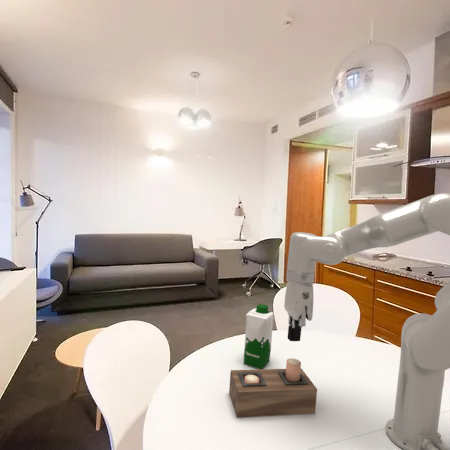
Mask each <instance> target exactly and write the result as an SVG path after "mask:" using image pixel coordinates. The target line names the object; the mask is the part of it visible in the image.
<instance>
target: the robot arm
mask: <svg viewBox="0 0 450 450" xmlns="http://www.w3.org/2000/svg"><path fill="white" fill-rule="evenodd" d="M436 232H440V233H443V234H446V235H448V236H450V193H449V192H441V193H435V194H432V195H428V196H426V197H423V198H421V199H418V200H415V201H412V202H410V203H407V204H405V205H402V206H399V207H397V208H393V209H391V210H388V211H385V212H382V213H380V214H378V215H375V216H372V217H370V218H369V219H367V220H365V221H362V222H360V223H358V224H354V225H352V226H349V227H347V228H343V229H341V230H339V231H335V232H333V233H330V234H328V235H326V236H318V235H316V234H314V233H310V232H303V231H301V232H300V231H297V232H293V233H291V235H290V238H289V239H290V240H289V246H288V247H289V248H288V257H287V267H286V279H285V280H286V282H287V283H286V287H285V288H286V289H285V293H284V294H285V295H284V310H285V311H286V312H287V314H288V329H287V339H288V341H289V342H300V341H301V336H302V329H303V327H306V325H307V323H306V321H310V322H311V321H312V320H313V315H314V313H313V312H314V282H315V275H316V274H315V273H316V263H320V264H322V265H323V264H324V265H329V266H334V265H338V264H340V263H341V262H342V261H344V259H345V258H346V257H348V256H351V255H354V254H358V253H361V252H363V251H367V250H371V249H377V248H389V247H394V246H398V245H400V244H404V243H406V242H409V241H412V240H415V239H419V238H422V237H424V236H428V235H431V234H434V233H436ZM434 297H435V298H434V306H435V309H436V311H435V312H434V313H433V314H432V315H431V314H428V313H423V312H422V313H416V314H412V315H411V316H409V317H408V318H407V319H406V320H405V321H404V322H403V325H402V327H401V328H402V329H401V337H400V356H399V358H400V359H399V368H398V377H397V385H396V394H395V395H396V396H395V403H394V411H393V412H394V414H393V418H391V419H389V420H388V421H387V422H386V424H385V431H386V434H387V437H388V438H389V439H390V440H391V441H392V442H393V443H394V444H395V445H396V446H398V447H399V448H401V449H402V450H448V449H447V448H446V447H445V446H444V445H445V444H444V442H443V440H442V437H441V436H442V434H440V433H439V432H438V431H439V425H440V424H439V423H440V414H441V406H442V398H443V392H444V391H443V390H444V389H443V388H444V383H445V374H446V373H445V372H446V371H447V370H450V280H449V281H447V283H446V284H445V285H443V286H442V287H441V288H440V290H438V291H437V293H436V294H435V296H434Z"/></svg>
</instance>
